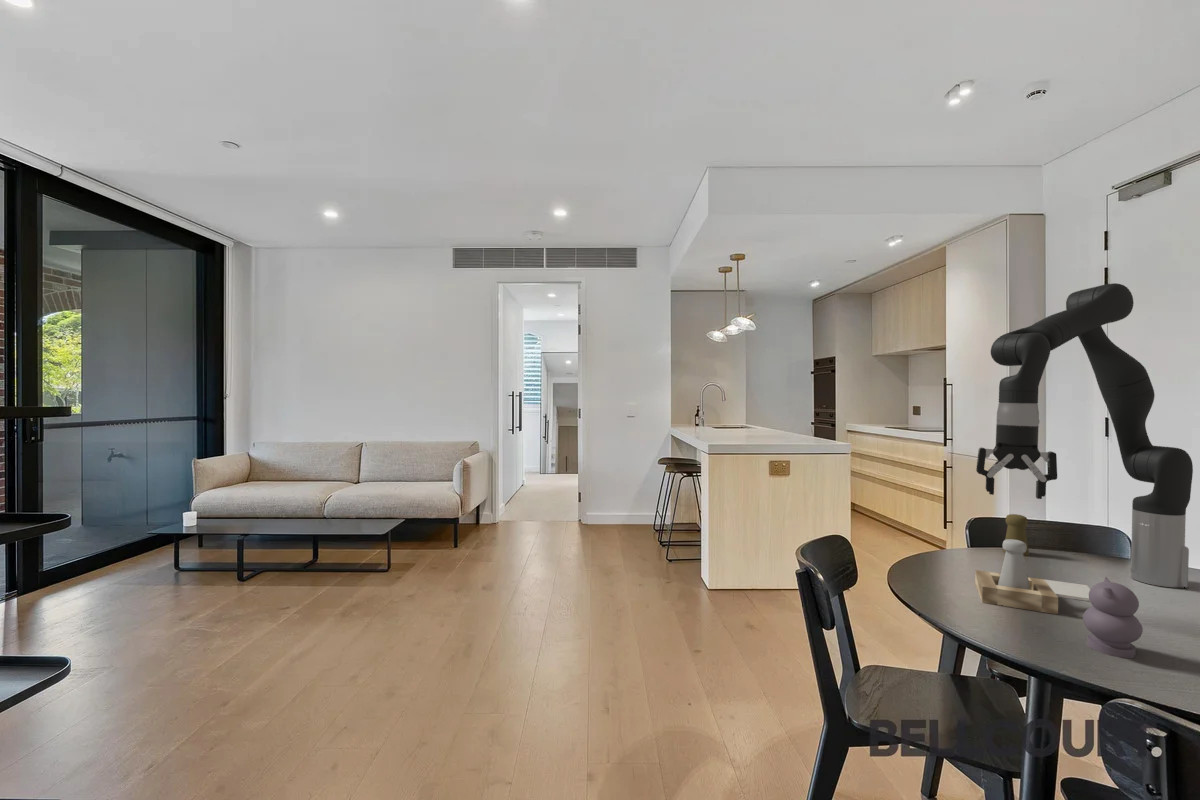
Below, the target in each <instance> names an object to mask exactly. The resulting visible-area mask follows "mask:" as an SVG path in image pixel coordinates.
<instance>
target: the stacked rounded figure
mask: <svg viewBox="0 0 1200 800" xmlns="http://www.w3.org/2000/svg"><path fill="white" fill-rule="evenodd" d="M1089 600H1090V601H1089V602H1090V603H1091V605H1092V606H1090V607H1088V608H1087V609H1086V610H1085V611H1084V613H1083V615H1082V621H1083V624H1084V625H1085V628H1086V629H1087V630H1088V631H1089V632H1090V633H1091V634H1089V635H1087V637H1086V644H1087V647H1089V648H1090V649H1093V650H1094V651H1096V652H1099V653H1101V654H1103V655H1104V654H1105V655H1109V656H1111V657H1117V658H1123V659H1124V658H1125V659H1128V658H1129V659H1131V658H1135V657H1136V651H1137V650H1136V646H1135V645H1134V644H1133V643H1134V642H1136V641H1138V640H1139V639H1140V638H1141V636H1142V635H1143V632H1144V629H1143V626H1142V623H1141V622H1140V620H1139V619H1138V618H1137V617H1136V616H1135V614H1136V613H1137V611H1138V610H1139V607H1140V603H1139V602H1140V601H1139V599H1138V597H1137V595H1136V594H1135V593H1134V592H1133V591H1132V590H1131V589H1130V588H1129V587H1127V586H1125V585H1122V584H1121V583H1118V582H1112V581H1110V580H1109V578H1108V577H1107V576H1105V578H1104V579H1103V582H1099V583H1096V584H1094V585H1093V586H1092V587H1091V588H1090V591H1089Z"/></svg>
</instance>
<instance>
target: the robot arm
mask: <svg viewBox="0 0 1200 800" xmlns="http://www.w3.org/2000/svg"><path fill="white" fill-rule="evenodd" d="M1133 307H1134V298H1133V294H1132V292H1131V290H1130V289H1129V287H1127V286H1125V285H1124V284H1122V283H1121V284H1120V283H1107V284H1102V285H1097V286H1093V287H1089V288H1085V289H1081V290H1077V291H1074V292H1072V293H1070V294H1069V295H1068V296H1067V298H1066V301H1065V310H1063V311H1060V312H1056V313H1053V314H1051V315H1049V316H1046V317H1044V318H1042V319H1041V320H1038V321H1037V322H1035V323H1032V324H1031V325H1029V326H1026V327H1023V328H1018V329H1017V330H1014V331H1009V332H1007V333H1005V334H1002V335H1000V336H999V337H997V338H996V339H995V340H994V342H992V345H991V348H990V356H991V359H992V360H993V361H994V362H995V363H996V364H998V365H1000V366H1003V367H1004V366H1005V367H1014V366H1015V367H1016V366H1019V367H1020V368H1019V370H1018V372H1017V373H1016V374H1014V375H1009V376H1005V377H1003V378H1001V379H1000V381H999V387H998V405H997V411H996V424H995V425H996V427H995V428H996V429H995V446H994V448H993V449H992V448H985V447H982V446H981V447H979V448H978V451H977V459H976V469H975V470H976V471H975V472H976V473H977V474H979V475H982V476H984V477H985V490H986V492H988V494H989V495H990V496H991V495H992V496H994V495H995V478H994V477H995V475H997V474H998V473H999V471H1001V470H1003V468H1006V470H1007V469H1008V470H1014V469H1015V470H1017V469H1018V470H1021V471H1025V470H1028V469H1029V471H1030V472H1031V473H1032V474H1033V475H1034V477H1035V478H1036V479H1037V480H1036V483H1035V484H1036V485H1035V486H1036V487H1035V498H1036V499H1038V500H1042V499H1043V498H1042V497H1045V496H1046V494H1047V492H1046V491H1047V490H1046V489H1047V482H1049V481H1053V480H1054V481H1055V480H1057V479H1058V463H1057V461H1058V460H1057V458H1058V457H1057V453H1056V452H1054V451H1051V450H1050V451H1047V452H1046V451H1044V452H1043V451H1040V450H1039V427H1040V426H1039V425H1040V412H1039V404H1038V403H1039V386H1040V382H1041V380H1042V377H1043V375H1044V371H1045V368H1046V366H1047V363H1048V361H1049V358H1050V354H1051V352H1052V351H1053V350H1056V349H1057V348H1059V347H1061V346H1062V345H1064V344H1065V343H1069V341H1071V340H1073V339H1075V338H1078V339H1079V342H1080V344H1081V345H1082V347H1083V349H1084V351H1085V353H1086V356H1087V358H1088V361H1089V363H1090V366H1091V368H1092V371H1093V373H1094V377H1095V380H1096V382H1097V386H1098V388H1099V391H1100V393H1101V394H1100V395H1101V396H1102V399H1103V401H1104V403H1105V406H1106V408H1107V411H1108V414H1109V417H1110V419H1111V422H1112V425H1113V429H1114V432H1115V435H1116V438H1117V443H1118V448H1119V451H1120V452H1119V453H1120V456H1121V460H1122V465H1123V467H1124V470H1125V471H1126V473H1127V474H1128V475H1129V476H1130V477H1131V478H1132V479H1134V480H1135V481H1139V482H1144V483H1150V484H1153V489H1152V492H1150V493H1149V494H1145V495H1140V496H1136V497H1133V499H1132V506H1131V507H1132V509H1131V510H1132V511H1131V548H1130V549H1131V551H1130V552H1131V553H1130V555H1131V556H1130V577H1131V579H1133V580H1135V581H1138V582H1141V583H1145V584H1148V585H1153V586H1159V587H1167V588H1184V587H1185V589H1188V588H1189V562H1190V561H1189V558H1190V557H1189V556H1190V549H1189V547H1188V546H1186V520H1187V519H1186V516H1187V515H1186V513H1187V512H1186V511H1187V508H1188V505H1189V503H1190V501H1191V493H1192V482H1193V474H1194V469H1193V468H1194V467H1193V466H1194V465H1193V460H1192V458H1191V456H1190V454H1189V453H1188V452H1187V451H1186V450H1184V449H1183V448H1178V447H1172V446H1171V447H1170V446H1162V445H1161V446H1160V445H1153V444H1152V442H1151V440H1150V438H1149V437H1150V436H1149V435H1148V432H1147V426H1146V423H1147V418H1148V416H1149V414H1150V411H1151V409H1152V407H1153V405H1154V401H1155V396H1156V395H1155V390H1154V387H1153V384H1152V382H1151V379H1150V376H1149V373H1148V371H1147V369H1146V367H1145V366H1144V365H1143V364H1142V363H1141V362H1140V361H1139V360H1137V359H1136V358H1135V357H1133V355H1130V354H1129V353H1128V352H1126V351H1125V350H1123V349H1122V348H1120V347H1119V346H1117V345H1116V344H1115V343H1114V342H1112V340H1111V339H1110V338H1109V337H1108V336H1107V333H1106V332H1105V329H1103V327H1102V326H1103V325H1107V324H1110V323H1111V324H1112V323H1115V322H1119V321H1121V320H1124V319H1125V318H1127V317H1128V316H1129V315H1130V314H1131V312H1132V311H1133ZM990 455H993V456H994V457H995V458H996V460H997V461H996V462H995V463H994V464H993V465H992V466H991V467H989V469H988V470H986V469H985V467H986V466H985V464H986V459H988V458H990ZM1040 458H1042V460H1043V461H1044V462H1045V463H1047V464H1046V467H1047V474H1043V473H1042V471H1041V470H1040V468H1038V467H1037V465H1036V464H1035V463H1036V462H1037V461H1038V460H1039V459H1040ZM1186 587H1187V588H1186Z"/></svg>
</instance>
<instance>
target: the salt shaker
mask: <svg viewBox="0 0 1200 800" xmlns="http://www.w3.org/2000/svg"><path fill="white" fill-rule="evenodd" d="M1003 549H1004V550H1006V553H1005V552H1004V553H1005V554H1004V558H1003V563H1002V567H1001V571H1000V573H1001V574H1000V578H999V582H998V585H999V586H1006V587H1013V588H1020V589H1027V590H1030V585H1029V580H1028V577H1029V574H1028V572H1027V566H1026V562H1025V556H1024V555H1023V553H1025V552H1026V550H1027V546H1026V544H1025V543H1024V542H1022V541H1019V540H1014V539H1006V540H1005V539H1004V540H1003V541H1002V550H1003Z"/></svg>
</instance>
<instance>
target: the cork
mask: <svg viewBox="0 0 1200 800" xmlns="http://www.w3.org/2000/svg"><path fill="white" fill-rule="evenodd" d="M1005 524H1006V525H1007V527H1006V533H1005V539H1004V540H1006V539H1014V540H1019V541H1022V542H1024V543H1025V544H1026V546H1027V550H1026V552H1025V553H1023V555H1024V557H1028V556H1030V553H1029V552H1030V551H1029V545H1028V538H1027V531H1026V528H1027V527H1028V526H1029V525H1028V524H1029V520H1028V518H1027V517H1026V516H1025V515H1021V514H1015V513H1012V514H1007V515H1006V517H1005ZM1002 551H1003V553H1006V550H1004V549H1003V548H1002Z"/></svg>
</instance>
